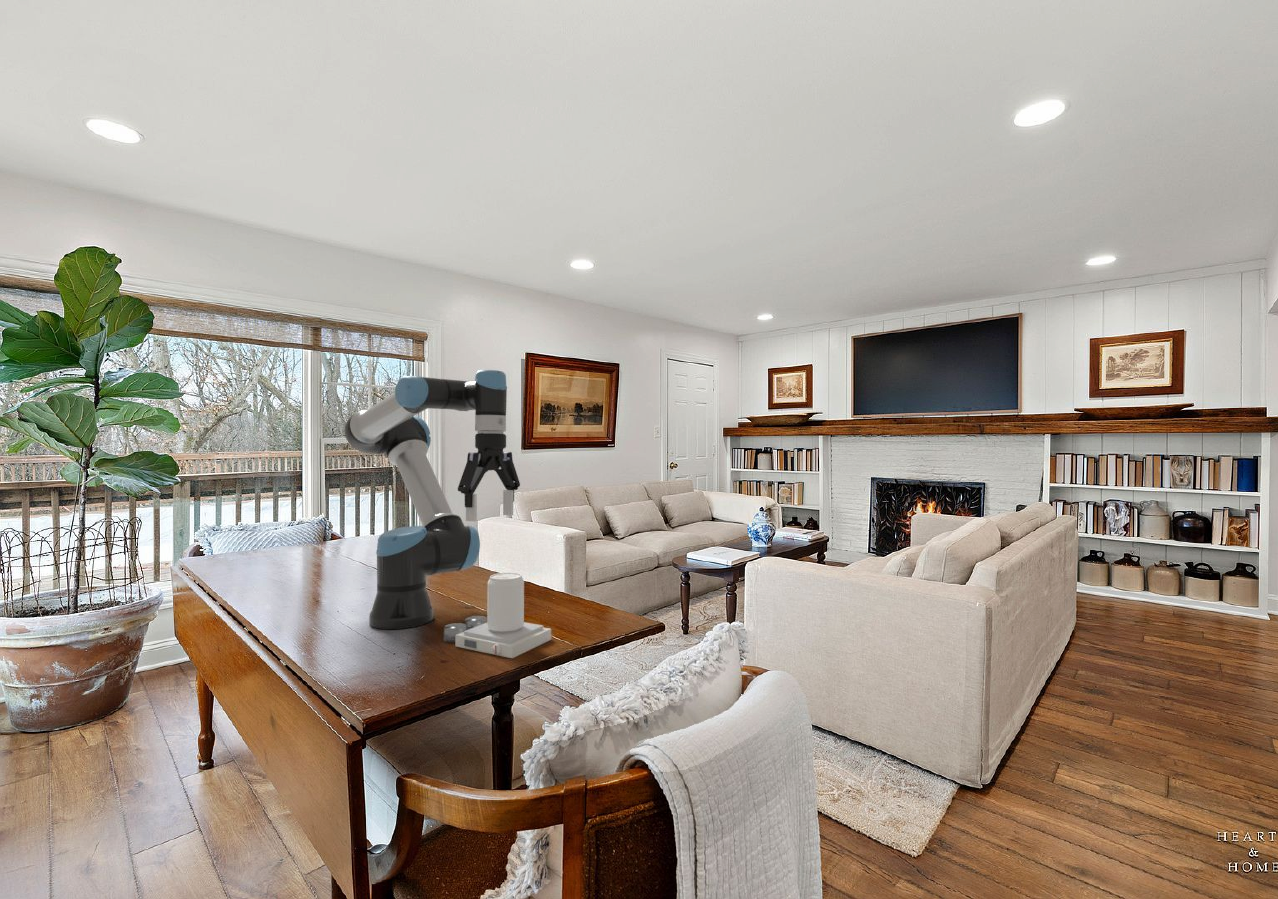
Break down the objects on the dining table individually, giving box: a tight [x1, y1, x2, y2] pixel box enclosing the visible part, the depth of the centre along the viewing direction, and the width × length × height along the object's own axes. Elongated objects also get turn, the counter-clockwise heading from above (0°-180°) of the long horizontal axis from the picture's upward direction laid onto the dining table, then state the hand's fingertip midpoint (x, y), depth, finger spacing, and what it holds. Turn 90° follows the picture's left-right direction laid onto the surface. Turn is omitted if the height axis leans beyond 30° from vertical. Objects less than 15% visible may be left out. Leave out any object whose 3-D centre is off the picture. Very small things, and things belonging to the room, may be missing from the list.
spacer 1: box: [443, 622, 466, 643], centre depth 141 cm, size 5×5×3 cm
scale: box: [454, 621, 552, 659], centre depth 138 cm, size 16×15×3 cm
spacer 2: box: [464, 615, 487, 630], centre depth 147 cm, size 5×5×3 cm
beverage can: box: [486, 572, 525, 633], centre depth 138 cm, size 8×8×12 cm
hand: (490, 518), depth 152 cm, fingers open, 13 cm apart
